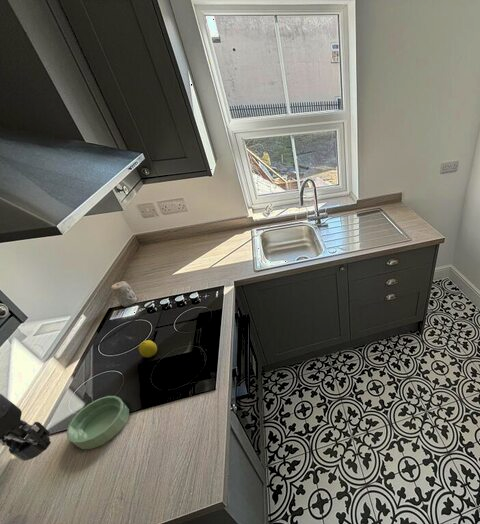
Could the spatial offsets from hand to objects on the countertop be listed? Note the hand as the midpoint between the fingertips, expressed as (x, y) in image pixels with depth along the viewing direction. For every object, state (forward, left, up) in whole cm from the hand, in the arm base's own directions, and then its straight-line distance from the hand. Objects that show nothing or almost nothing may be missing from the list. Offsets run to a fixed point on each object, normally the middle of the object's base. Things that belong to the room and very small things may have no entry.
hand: (34, 447), depth 77 cm
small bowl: (0, 0, -1) cm, 1 cm away
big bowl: (+10, +7, -11) cm, 17 cm away
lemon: (+24, +30, -12) cm, 40 cm away
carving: (+15, +72, -12) cm, 74 cm away
